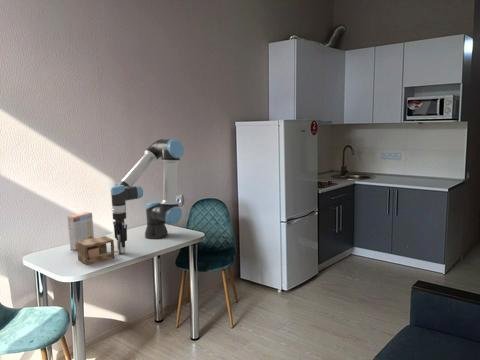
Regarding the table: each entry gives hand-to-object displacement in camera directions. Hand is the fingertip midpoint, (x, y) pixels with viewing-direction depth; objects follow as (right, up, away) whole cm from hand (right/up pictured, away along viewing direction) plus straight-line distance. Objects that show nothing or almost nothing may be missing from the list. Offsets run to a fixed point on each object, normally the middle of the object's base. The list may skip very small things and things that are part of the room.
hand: (121, 251), depth 245 cm
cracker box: (-28, 0, +14) cm, 31 cm away
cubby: (-11, -3, -10) cm, 15 cm away
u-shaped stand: (-7, -2, -6) cm, 9 cm away
